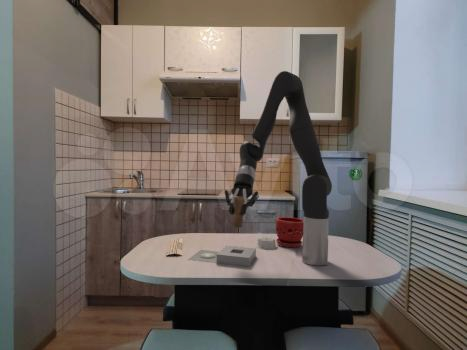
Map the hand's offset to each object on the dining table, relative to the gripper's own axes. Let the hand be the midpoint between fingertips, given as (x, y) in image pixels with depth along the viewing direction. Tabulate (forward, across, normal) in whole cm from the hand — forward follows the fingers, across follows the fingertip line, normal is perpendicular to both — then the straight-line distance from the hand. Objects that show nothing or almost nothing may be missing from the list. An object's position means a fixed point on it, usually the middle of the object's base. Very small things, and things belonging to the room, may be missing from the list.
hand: (236, 213), depth 107 cm
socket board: (+12, -6, +14) cm, 19 cm away
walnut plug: (+2, 0, +5) cm, 5 cm away
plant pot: (-10, +17, +37) cm, 41 cm away
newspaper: (+6, -29, +21) cm, 37 cm away
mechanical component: (-4, +7, +30) cm, 31 cm away
